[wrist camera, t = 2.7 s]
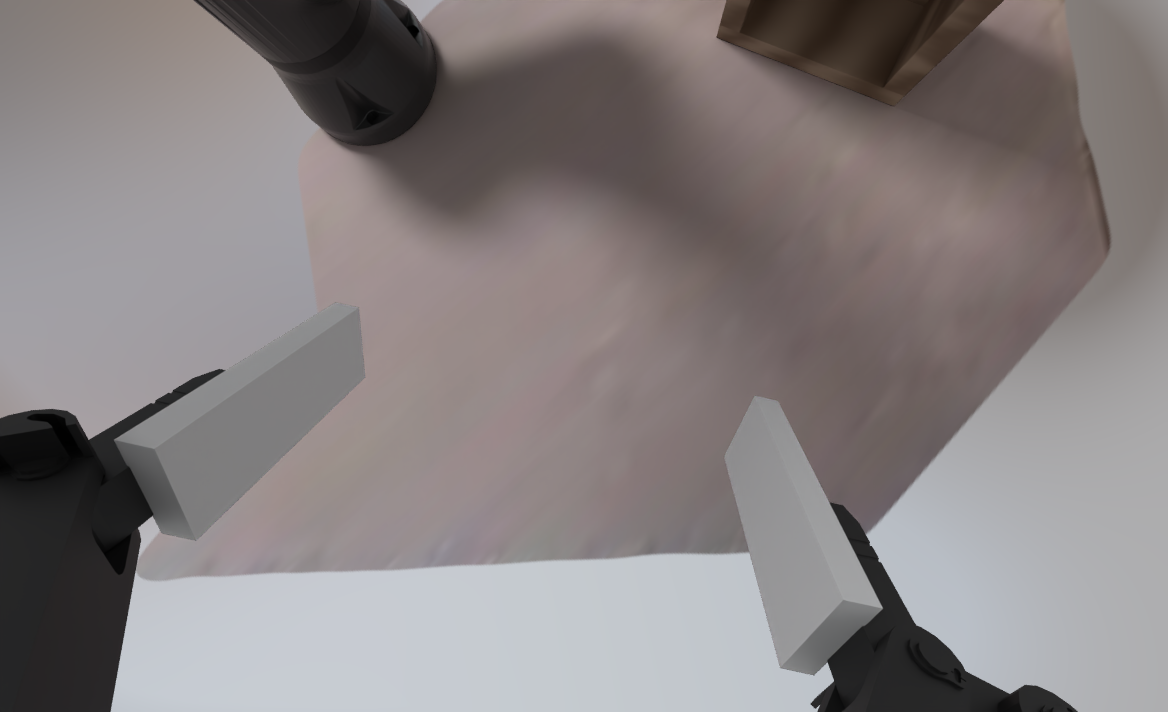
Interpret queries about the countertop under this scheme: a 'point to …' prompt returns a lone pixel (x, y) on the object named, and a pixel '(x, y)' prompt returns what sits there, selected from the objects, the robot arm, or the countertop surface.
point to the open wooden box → (855, 37)
